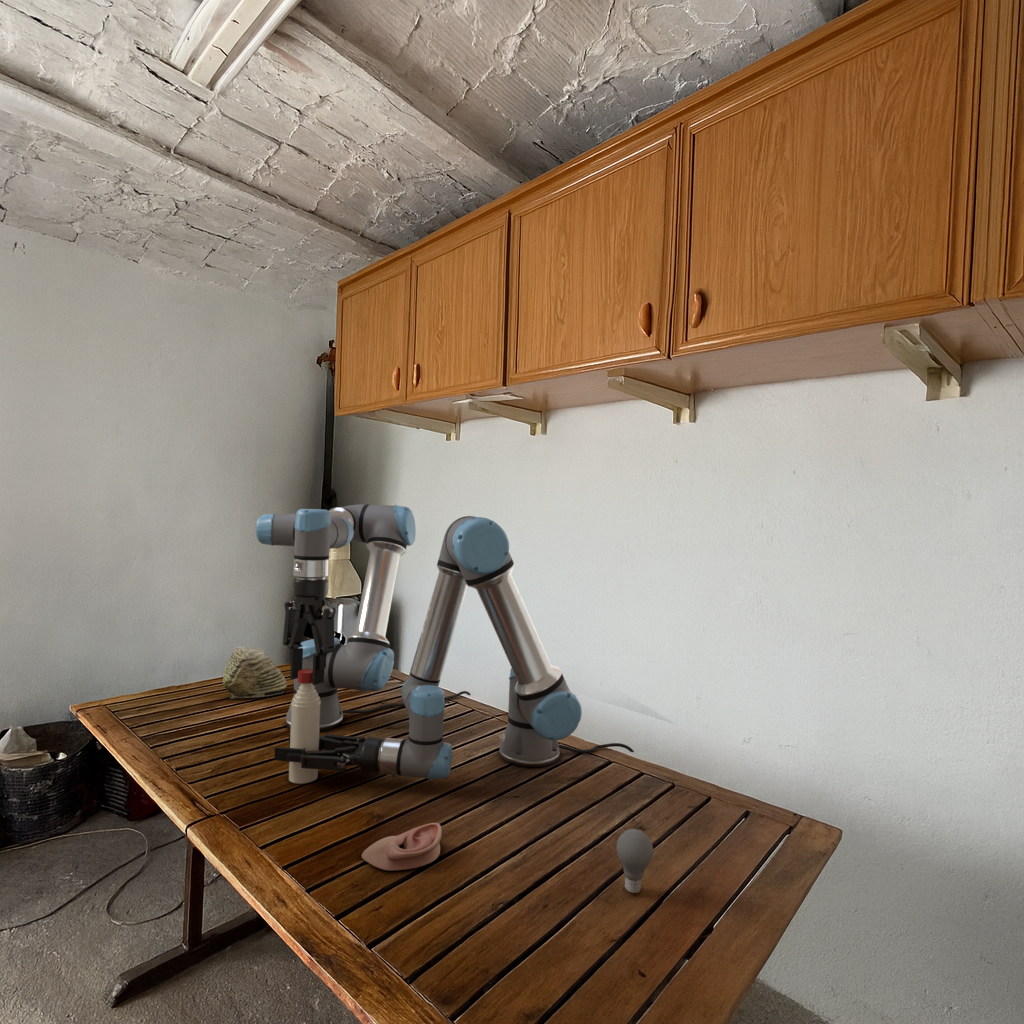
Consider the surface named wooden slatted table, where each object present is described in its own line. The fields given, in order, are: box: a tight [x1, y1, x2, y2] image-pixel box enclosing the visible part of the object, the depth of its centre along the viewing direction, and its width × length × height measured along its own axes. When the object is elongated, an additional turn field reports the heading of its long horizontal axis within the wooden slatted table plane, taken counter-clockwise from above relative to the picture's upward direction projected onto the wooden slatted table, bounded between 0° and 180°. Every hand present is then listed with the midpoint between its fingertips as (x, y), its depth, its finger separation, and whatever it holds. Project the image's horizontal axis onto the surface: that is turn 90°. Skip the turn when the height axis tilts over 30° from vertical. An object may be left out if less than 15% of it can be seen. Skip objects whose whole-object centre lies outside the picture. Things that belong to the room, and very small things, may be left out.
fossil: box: [222, 646, 288, 699], centre depth 198 cm, size 9×18×15 cm, turn 132°
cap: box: [298, 669, 313, 684], centre depth 142 cm, size 4×4×2 cm
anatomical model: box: [361, 822, 443, 872], centre depth 114 cm, size 13×4×12 cm
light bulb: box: [615, 828, 654, 894], centre depth 106 cm, size 6×6×10 cm
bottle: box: [288, 683, 321, 785], centre depth 142 cm, size 6×6×24 cm
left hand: (306, 680), depth 142 cm, fingers open, 6 cm apart
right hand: (282, 747), depth 143 cm, fingers closed on bottle, 6 cm apart
